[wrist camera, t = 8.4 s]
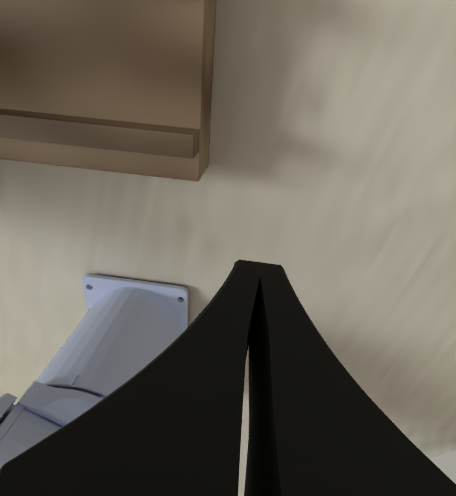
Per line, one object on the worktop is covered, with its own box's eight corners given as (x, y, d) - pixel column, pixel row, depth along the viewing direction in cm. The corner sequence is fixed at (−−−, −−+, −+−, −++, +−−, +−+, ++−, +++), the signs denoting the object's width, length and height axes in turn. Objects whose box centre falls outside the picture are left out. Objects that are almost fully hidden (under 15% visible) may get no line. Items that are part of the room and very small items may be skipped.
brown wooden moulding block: (208, 165, 18) (192, 191, 14) (-77, 134, 19) (-165, 149, 15) (219, -69, 13) (198, -128, 9) (-170, -95, 14) (-338, -159, 10)
